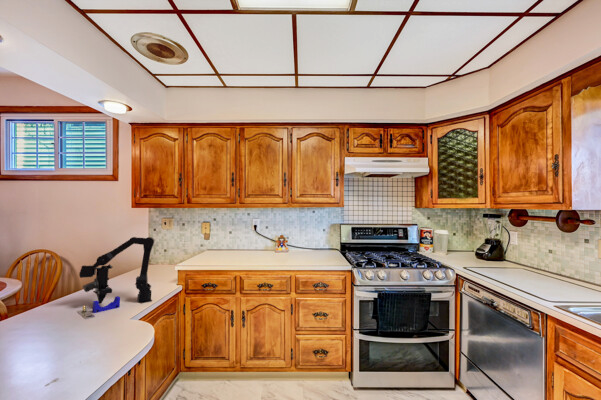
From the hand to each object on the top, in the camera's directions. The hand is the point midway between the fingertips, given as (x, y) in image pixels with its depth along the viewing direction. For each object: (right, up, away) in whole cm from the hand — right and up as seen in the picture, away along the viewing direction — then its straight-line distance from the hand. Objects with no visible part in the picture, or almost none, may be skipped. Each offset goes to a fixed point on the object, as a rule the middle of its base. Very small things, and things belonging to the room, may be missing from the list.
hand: (100, 303), depth 154 cm
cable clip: (+8, -1, -6) cm, 10 cm away
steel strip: (+4, 0, -15) cm, 15 cm away
